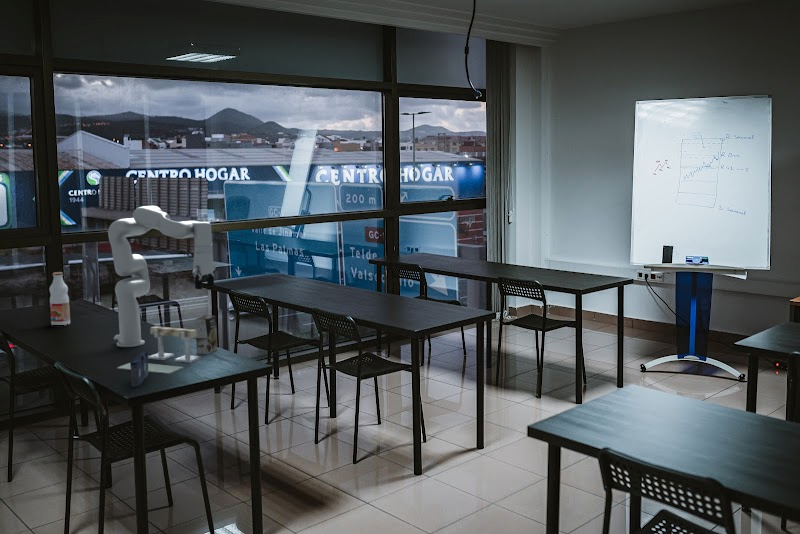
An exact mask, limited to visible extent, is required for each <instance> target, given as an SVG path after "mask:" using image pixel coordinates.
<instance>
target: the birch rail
mask: <svg viewBox="0 0 800 534" xmlns="http://www.w3.org/2000/svg"><path fill="white" fill-rule="evenodd" d="M149 329H150V330H149V331H150V335H153V336H154V330H159V335H164V336H166V337H178V338H181V332H186V337H187V338H190V339H194V338H196V337H197V330H196V329H193V328H191V329H188V328H178V327H168V326H165V327H164V326H157V325H156V326H151V327H149ZM164 336H163V337H164Z"/></svg>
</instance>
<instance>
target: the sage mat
mask: <svg viewBox="0 0 800 534" xmlns="http://www.w3.org/2000/svg"><path fill="white" fill-rule="evenodd" d="M130 363H131V362H128V363H126V364H125V363H124V364H122V365H120V366H118V367H116V368H117V369H120V370H129V371H131V367H130ZM181 369H184V366H177V365H166V364H159V363H158V364H157V363H150V362H148V373H158V374H166V375H167V374H168V375H170V374H172V373H175V372H177V371H179V370H181Z"/></svg>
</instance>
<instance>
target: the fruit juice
mask: <svg viewBox="0 0 800 534" xmlns="http://www.w3.org/2000/svg"><path fill="white" fill-rule="evenodd" d="M52 276H53V280H52V283H51V284H50V286H49V293H50V297H49V309H50V323H51V326H53V325H64V326H68V325H70V324H71V311H70V309H71V308H70V297H69V295H68V291H69V287H68V285H67V284H66V283H65V281H64V278H63V276H64V274H63V272H62V271H57V272H53V273H52ZM67 324H68V325H67Z"/></svg>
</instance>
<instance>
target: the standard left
mask: <svg viewBox="0 0 800 534" xmlns="http://www.w3.org/2000/svg"><path fill="white" fill-rule="evenodd" d="M153 337H154V338H156V339H157V349H158V351H157V353H154V354H151V355H148V360H157V361H165V360H167V359H170V358H174V357H175V353H172V352H170V353H168V352H164V349H165V348H164V335H159V330H154V335H153Z"/></svg>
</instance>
